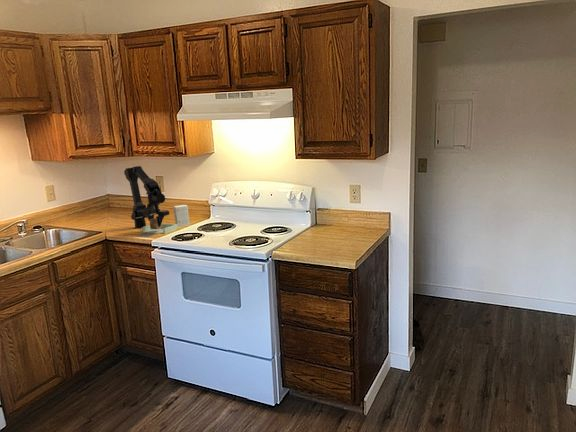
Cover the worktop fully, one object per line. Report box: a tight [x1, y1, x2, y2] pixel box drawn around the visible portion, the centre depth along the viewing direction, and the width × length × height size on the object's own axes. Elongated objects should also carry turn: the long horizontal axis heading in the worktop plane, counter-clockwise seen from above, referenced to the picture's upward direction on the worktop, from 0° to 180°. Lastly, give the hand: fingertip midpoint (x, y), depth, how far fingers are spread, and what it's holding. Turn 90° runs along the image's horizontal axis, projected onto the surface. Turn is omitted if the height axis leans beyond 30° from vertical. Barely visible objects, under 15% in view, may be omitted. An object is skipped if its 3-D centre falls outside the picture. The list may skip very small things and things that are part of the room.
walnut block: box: [148, 217, 163, 229], centre depth 292 cm, size 5×5×6 cm
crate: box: [141, 223, 179, 234], centre depth 295 cm, size 18×12×3 cm, turn 64°
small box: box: [173, 204, 191, 228], centre depth 306 cm, size 8×6×13 cm
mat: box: [136, 232, 159, 238], centre depth 285 cm, size 10×9×1 cm
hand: (156, 226), depth 292 cm, fingers closed on walnut block, 5 cm apart
